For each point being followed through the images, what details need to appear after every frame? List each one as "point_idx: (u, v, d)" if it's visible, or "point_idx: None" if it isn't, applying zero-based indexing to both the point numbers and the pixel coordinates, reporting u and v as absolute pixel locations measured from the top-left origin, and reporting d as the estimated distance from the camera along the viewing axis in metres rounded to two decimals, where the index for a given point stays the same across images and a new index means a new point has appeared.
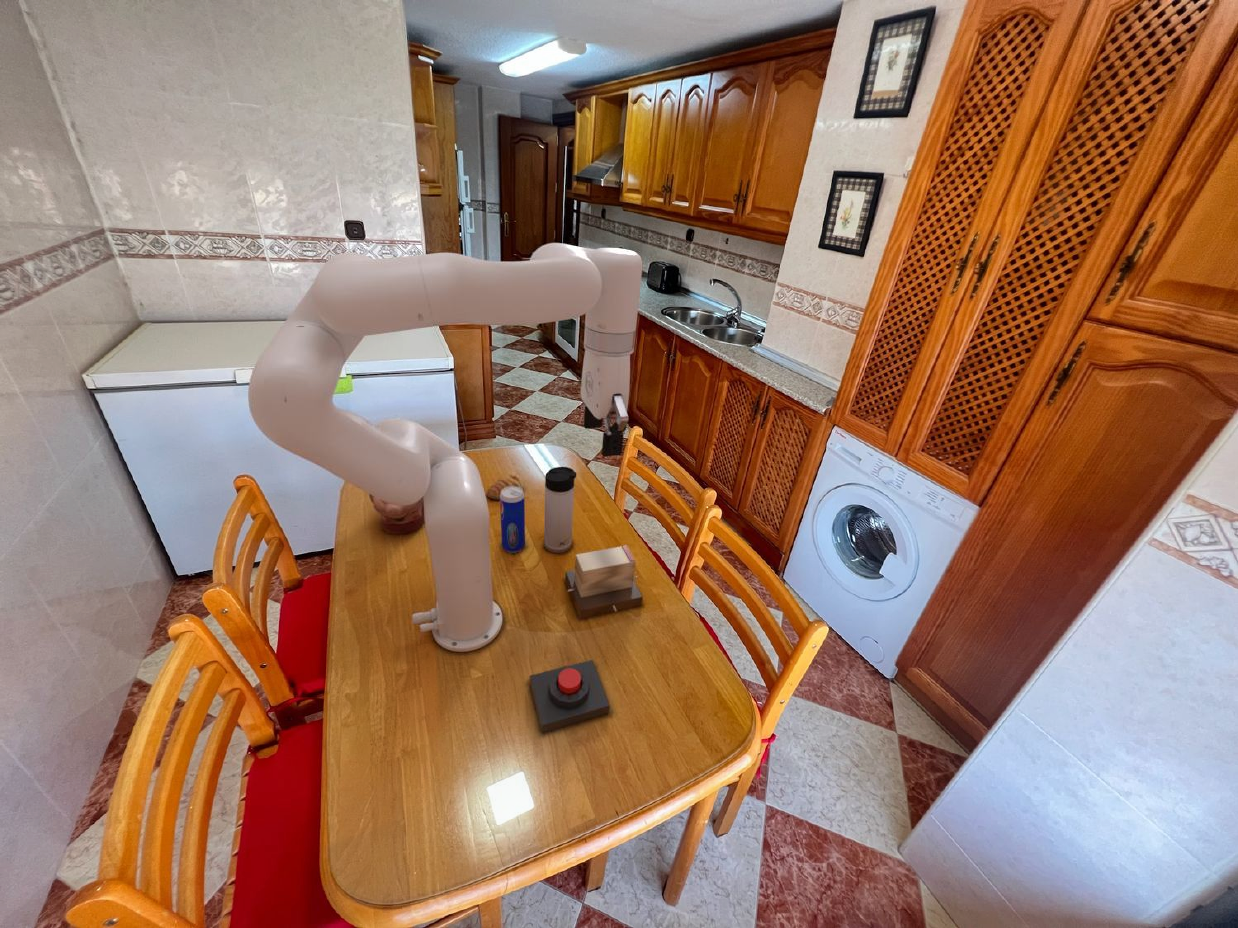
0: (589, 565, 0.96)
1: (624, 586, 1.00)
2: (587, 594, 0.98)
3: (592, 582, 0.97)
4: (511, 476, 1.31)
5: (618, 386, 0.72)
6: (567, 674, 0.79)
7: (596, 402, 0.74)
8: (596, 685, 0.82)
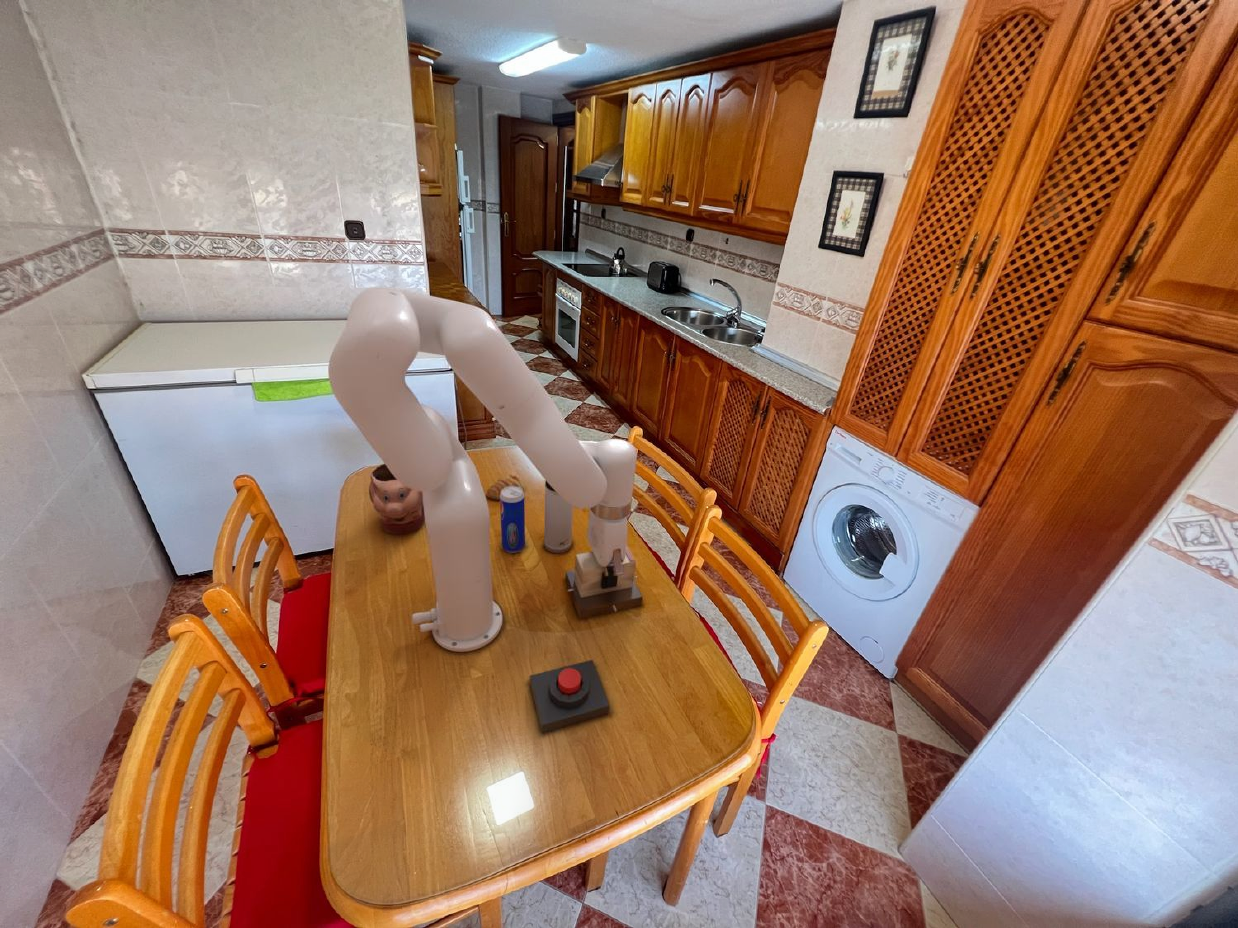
0: (589, 565, 0.96)
1: (624, 586, 1.00)
2: (587, 594, 0.98)
3: (592, 582, 0.97)
4: (511, 476, 1.31)
5: (618, 543, 0.90)
6: (567, 674, 0.79)
7: (600, 554, 0.92)
8: (596, 685, 0.82)
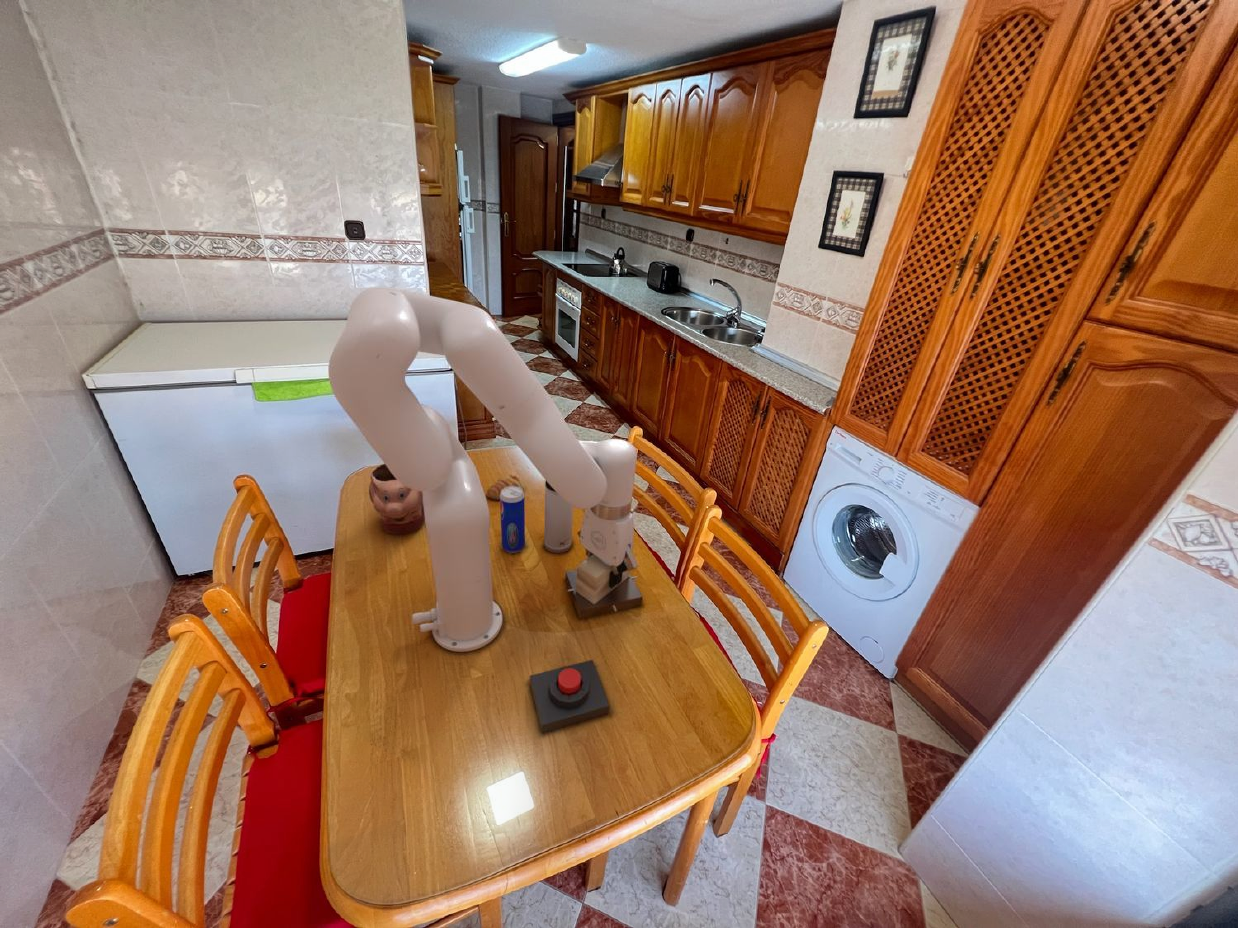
0: (597, 570, 0.95)
1: (624, 578, 1.02)
2: (599, 598, 0.97)
3: (602, 585, 0.96)
4: (511, 476, 1.31)
5: (629, 539, 0.92)
6: (567, 674, 0.79)
7: (612, 555, 0.92)
8: (596, 685, 0.82)
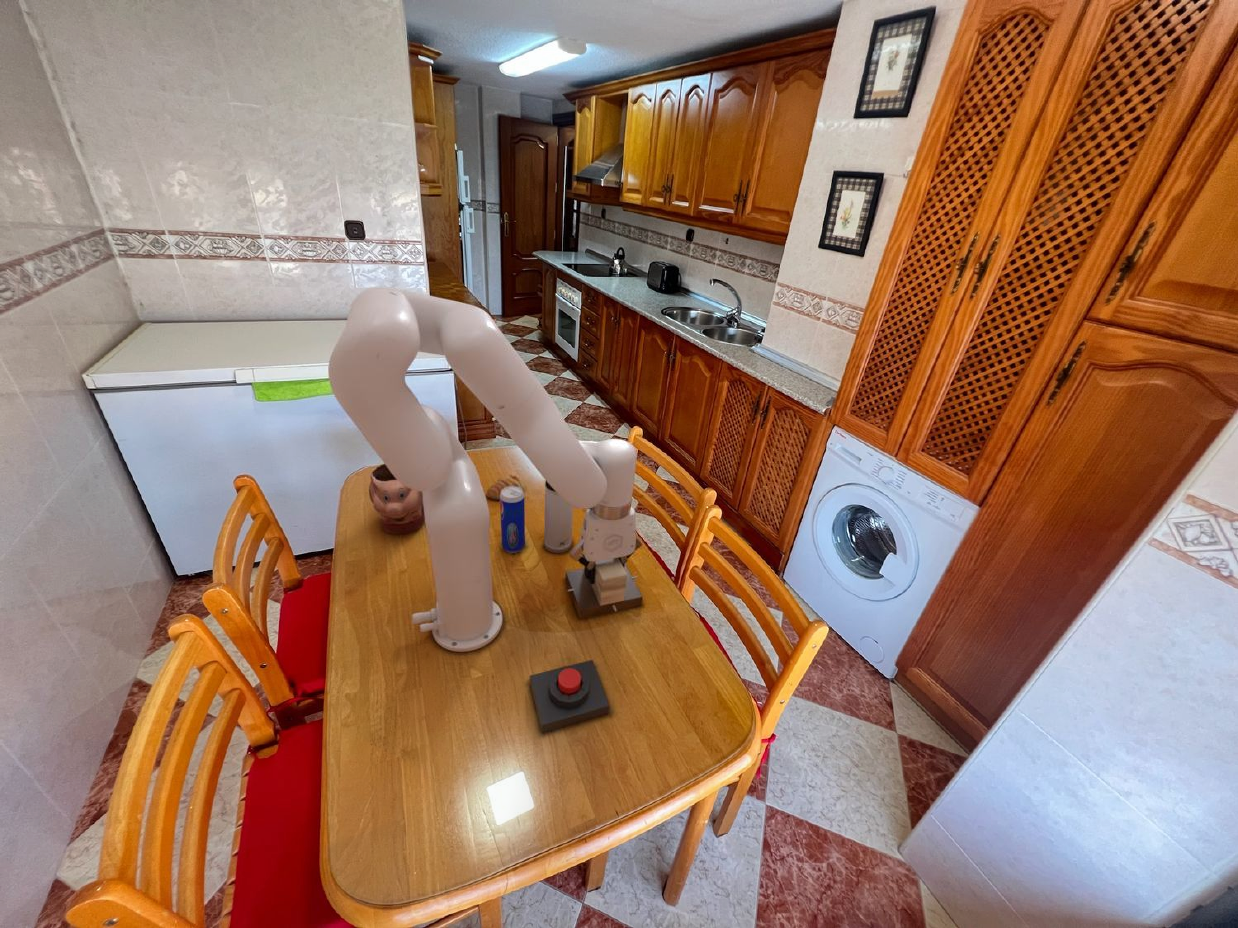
0: (618, 569, 0.95)
1: None
2: None
3: None
4: (511, 476, 1.31)
5: None
6: (567, 674, 0.79)
7: (630, 545, 0.95)
8: (596, 685, 0.82)
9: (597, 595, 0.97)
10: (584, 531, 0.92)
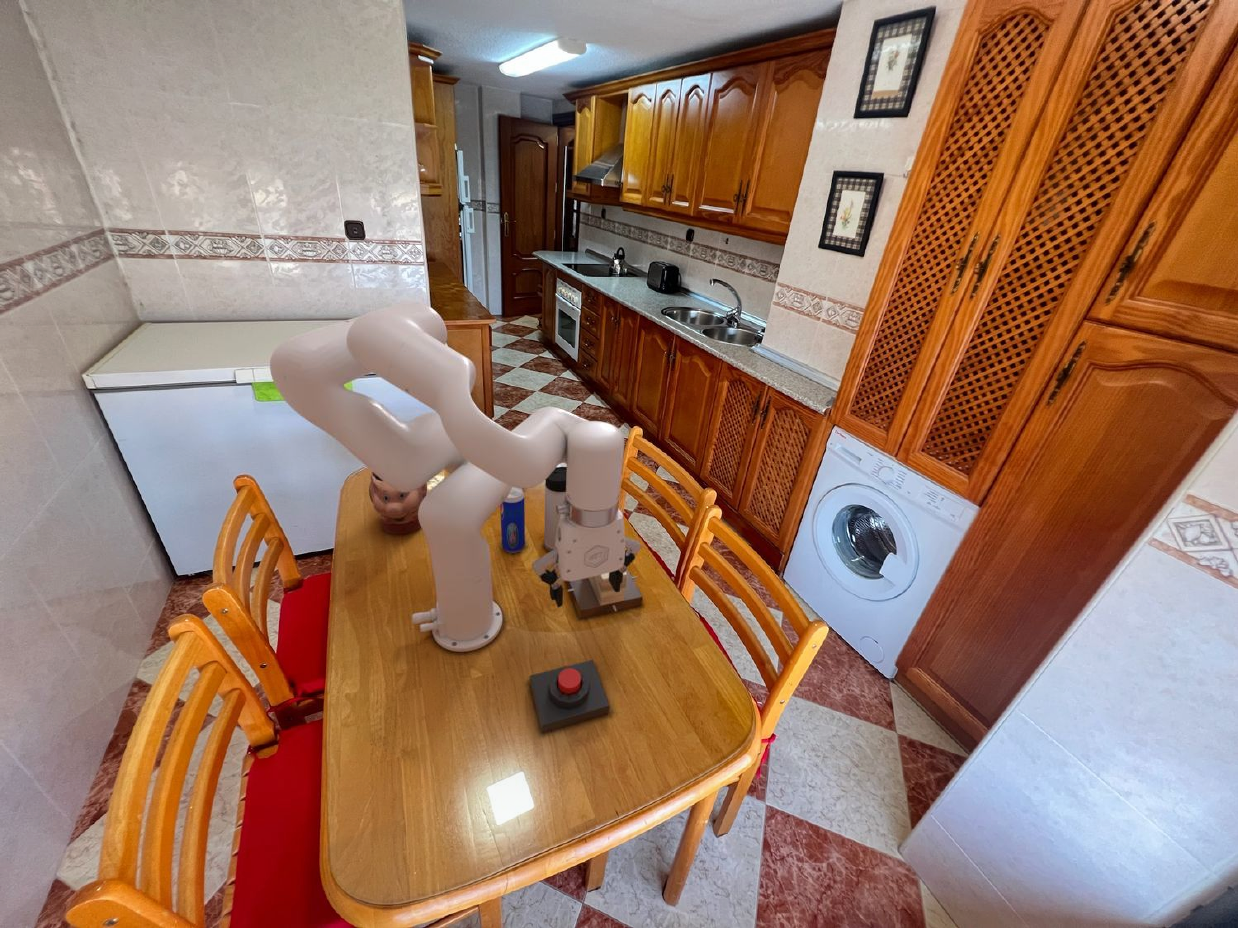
0: None
1: None
2: None
3: None
4: None
5: None
6: (567, 674, 0.79)
7: (618, 557, 0.74)
8: (596, 685, 0.82)
9: (597, 595, 0.97)
10: (558, 543, 0.71)
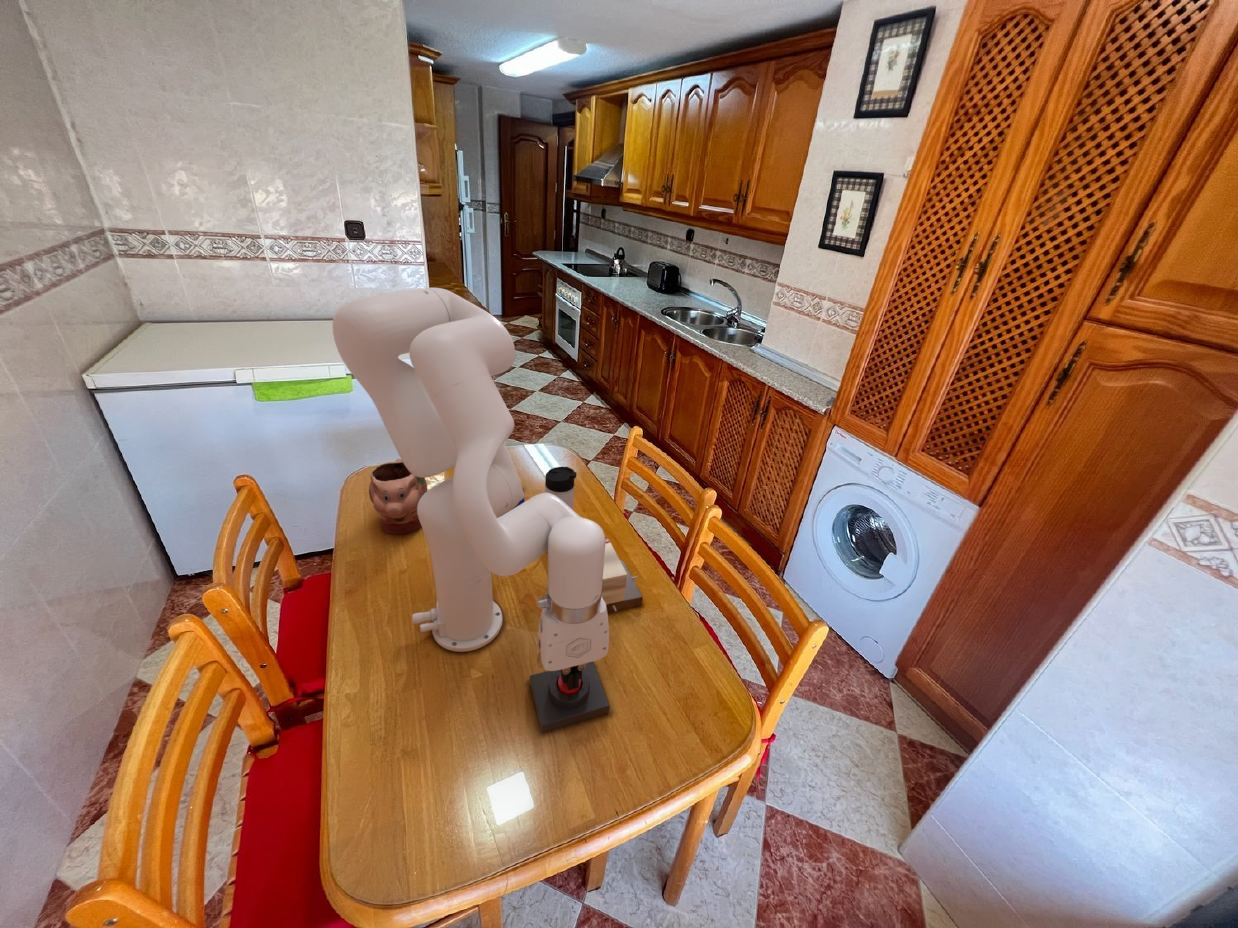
0: (618, 569, 0.95)
1: None
2: None
3: None
4: None
5: None
6: None
7: (601, 647, 0.73)
8: (596, 685, 0.82)
9: None
10: (540, 634, 0.71)
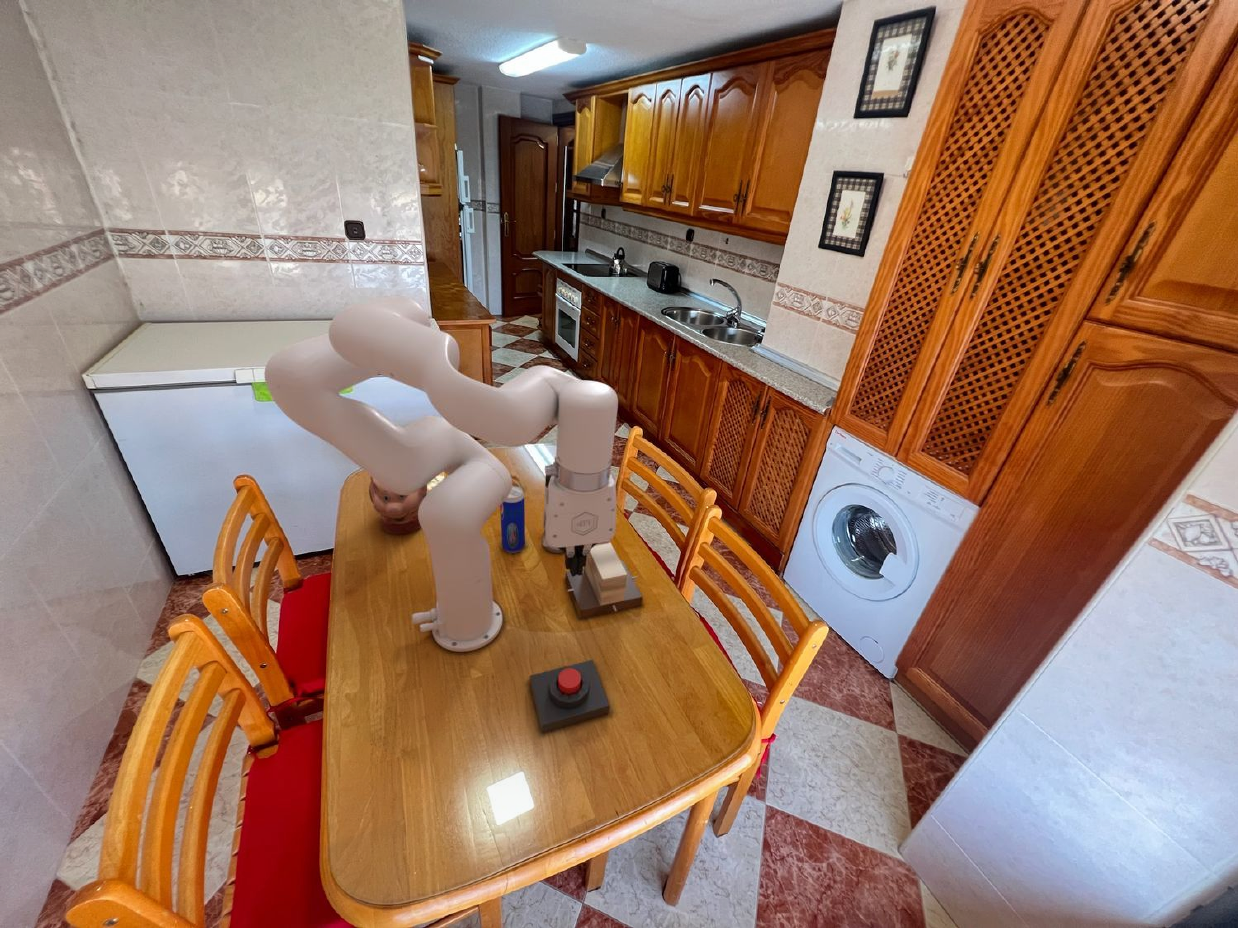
0: (618, 569, 0.95)
1: None
2: None
3: None
4: (511, 476, 1.31)
5: None
6: (567, 674, 0.79)
7: (608, 528, 0.71)
8: (596, 685, 0.82)
9: (597, 595, 0.97)
10: (546, 506, 0.69)
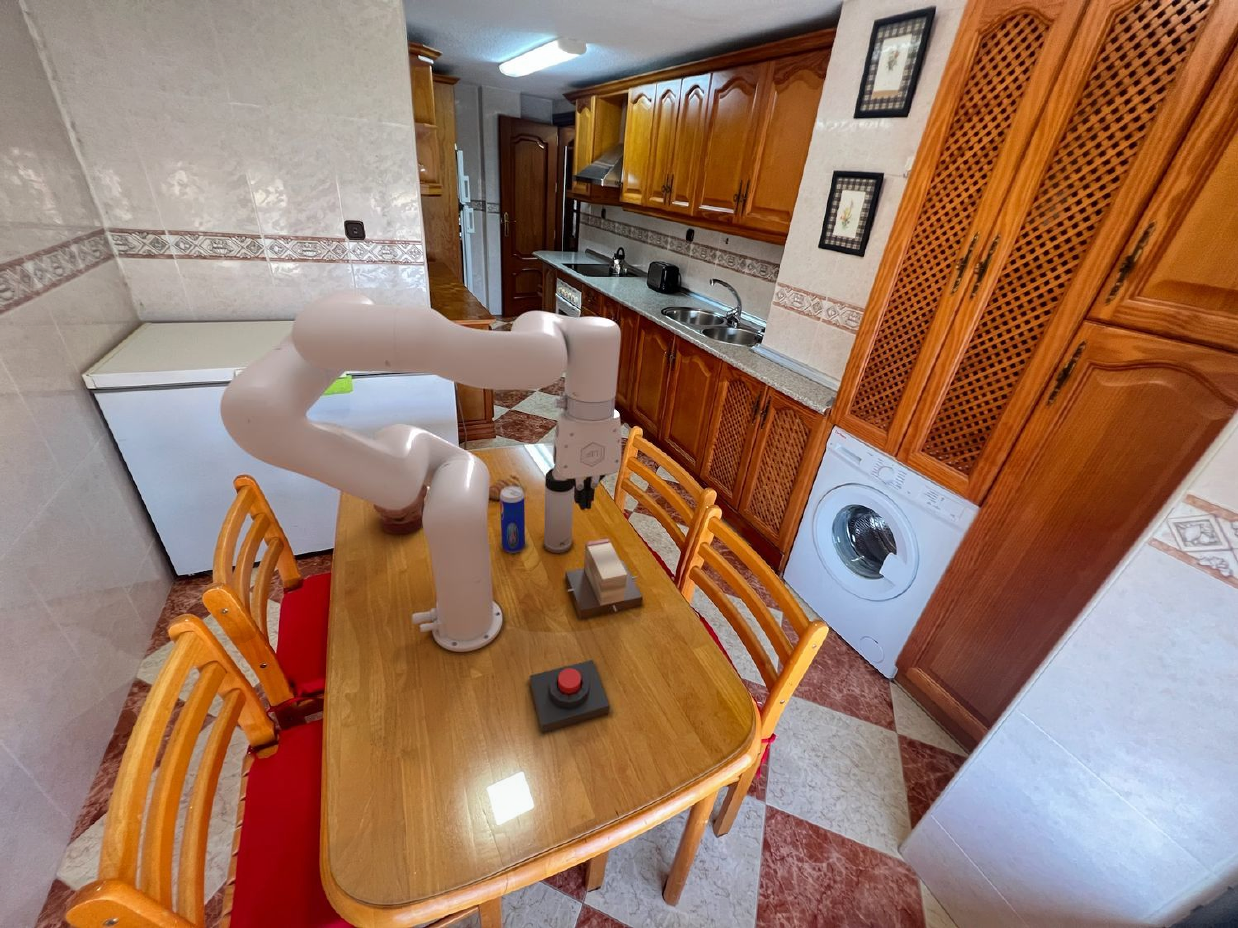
0: (618, 569, 0.95)
1: None
2: None
3: None
4: (511, 476, 1.31)
5: None
6: (567, 674, 0.79)
7: (614, 459, 0.77)
8: (596, 685, 0.82)
9: (597, 595, 0.97)
10: (556, 439, 0.74)
